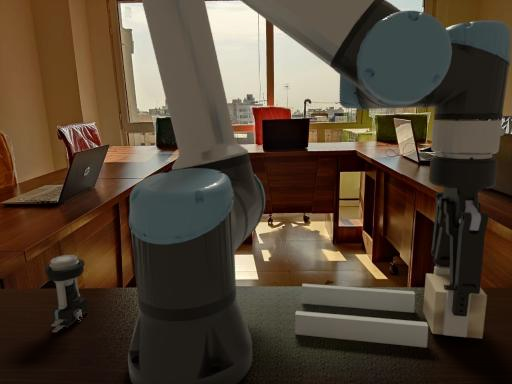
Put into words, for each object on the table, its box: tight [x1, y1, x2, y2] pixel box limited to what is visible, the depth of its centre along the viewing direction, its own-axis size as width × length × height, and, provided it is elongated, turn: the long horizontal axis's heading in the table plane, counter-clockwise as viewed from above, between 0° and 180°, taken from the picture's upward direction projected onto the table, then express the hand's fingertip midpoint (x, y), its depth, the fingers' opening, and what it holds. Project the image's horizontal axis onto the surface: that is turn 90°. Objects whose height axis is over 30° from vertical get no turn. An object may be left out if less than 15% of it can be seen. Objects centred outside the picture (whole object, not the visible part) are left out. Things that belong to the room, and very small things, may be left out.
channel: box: [294, 283, 429, 348], centre depth 55 cm, size 17×10×3 cm, turn 77°
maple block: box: [422, 272, 488, 339], centre depth 51 cm, size 6×6×6 cm
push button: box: [44, 254, 89, 333], centre depth 56 cm, size 7×5×10 cm
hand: (447, 320), depth 52 cm, fingers closed on maple block, 6 cm apart
